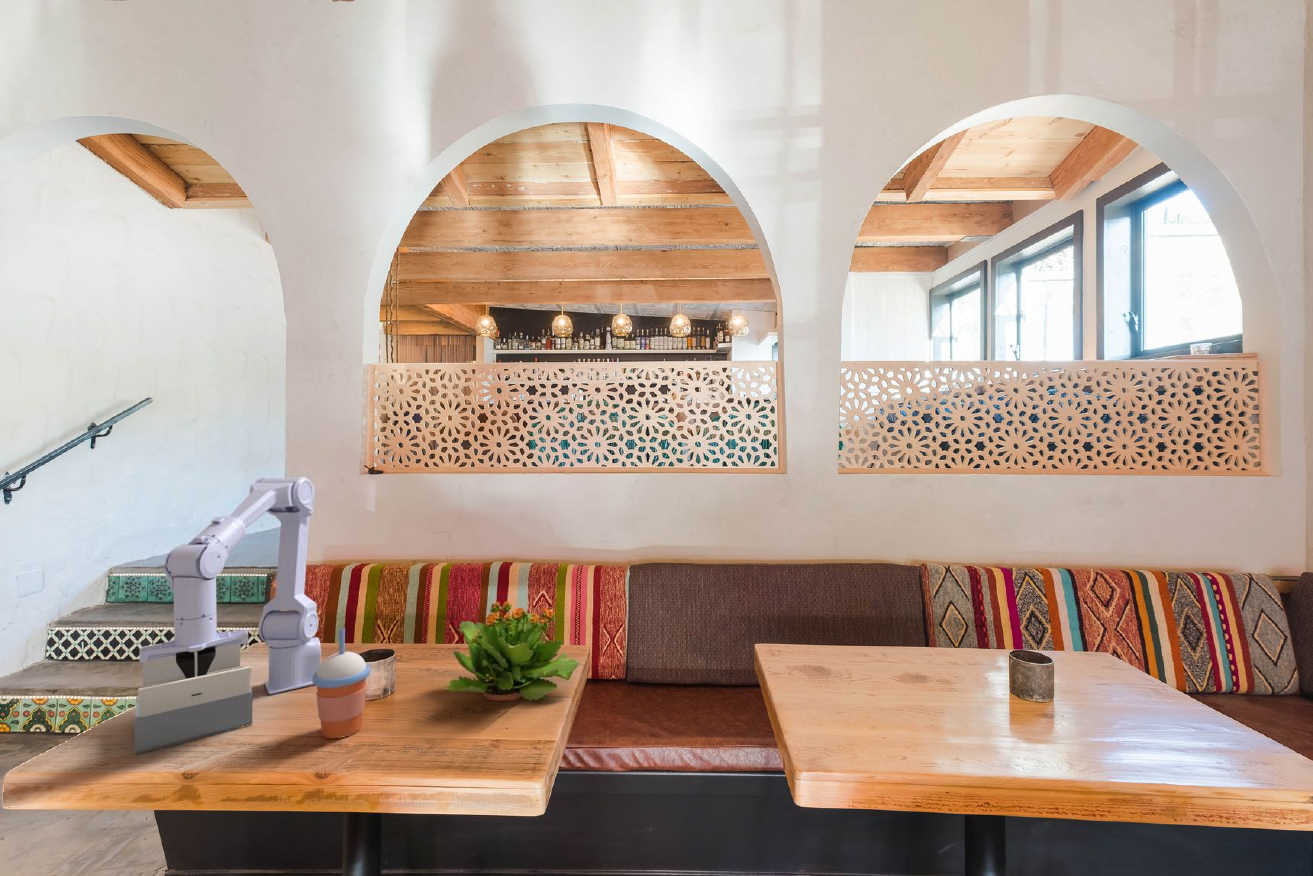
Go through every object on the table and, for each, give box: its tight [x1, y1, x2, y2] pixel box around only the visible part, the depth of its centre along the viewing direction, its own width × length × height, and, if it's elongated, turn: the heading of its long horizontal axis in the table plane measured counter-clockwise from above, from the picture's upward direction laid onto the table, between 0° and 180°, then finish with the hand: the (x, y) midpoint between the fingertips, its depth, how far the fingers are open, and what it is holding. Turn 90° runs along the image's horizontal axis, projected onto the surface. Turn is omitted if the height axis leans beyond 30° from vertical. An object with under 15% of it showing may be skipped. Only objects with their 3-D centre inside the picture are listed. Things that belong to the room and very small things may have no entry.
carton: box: [134, 666, 253, 756], centre depth 108 cm, size 16×16×6 cm
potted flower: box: [446, 600, 580, 702], centre depth 121 cm, size 25×24×18 cm
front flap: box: [138, 665, 252, 717], centre depth 100 cm, size 15×8×1 cm
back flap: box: [142, 629, 242, 687], centre depth 114 cm, size 15×8×1 cm
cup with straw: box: [312, 628, 371, 739], centre depth 105 cm, size 9×9×18 cm
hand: (196, 693), depth 101 cm, fingers closed, pressing on front flap
